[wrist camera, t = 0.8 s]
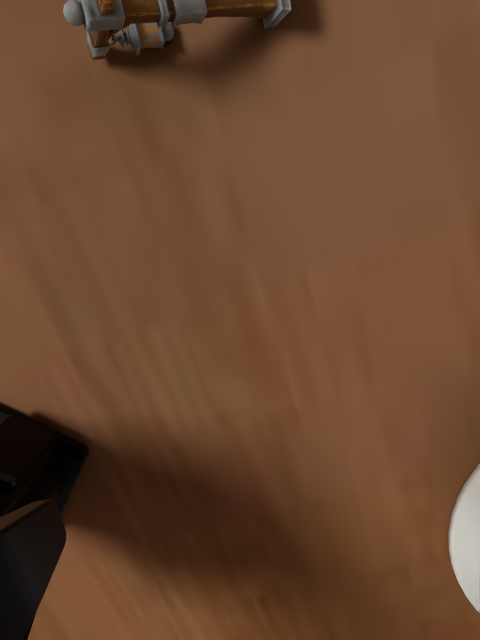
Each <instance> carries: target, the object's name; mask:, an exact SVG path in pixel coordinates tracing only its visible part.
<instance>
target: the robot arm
mask: <svg viewBox="0 0 480 640" xmlns="http://www.w3.org/2000/svg"><path fill="white" fill-rule="evenodd" d="M76 451H77V452H79V453H81V455H78V454H77V453H76ZM88 453H89V451H88V449H87V447H86V446H85V445H83V444H81V443H79V442H77V441H75V440H72V439H70V438H68V437H66V436H64V435H62V434H60V433H57V432H55V431H53V430H51V429H49V428H47V427H44V426H42V425H40V424H38V423H36V422H34V421H32V420H29V419H27V418H25V417H23V416H21V415H19V414H17V413H14V412H12V411H10V410H8V409H6V408H4V407H1V406H0V640H27V639H28V636H29V633H30V630H31V627H32V624H33V621H34V618H35V614H36V611H37V609H38V607H39V604H40V602H41V600H42V598H43V595H44V593H45V591H46V588H47V586H48V584H49V581H50V579H51V576H52V574H53V572H54V569H55V567H56V565H57V562H58V560H59V558H60V555H61V553H62V550H63V548H64V546H65V542H66V530H65V527H64V524H63V522H62V519H61V514H62V512H63V510H64V508H65V505H66V503H67V501H68V499H69V496H70V494H71V492H72V490H73V488H74V485H75V483H76V481H77V479H78V476H79V474H80V472H81V470H82V468H83V465H84V463H85V461H86V459H87V456H88Z"/></svg>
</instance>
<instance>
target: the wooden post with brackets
mask: <svg viewBox="0 0 480 640" xmlns="http://www.w3.org/2000/svg"><path fill="white" fill-rule="evenodd" d="M290 10H291V4H290V0H78V1H76V0H70V1H68V2H67V3H66V4H65V6H64V9H63V12H64V16H65V18H66V20H67V21H68V22H69V23H70V24H72V25H74V26H80V25H82V24H83V25H84V28H85V32H86V33H87V39H88V47H89V50H90V54H91V57H92V60H97V59H104V58H105V55H106V53H108V51H109V47H110V46H113V45H115V43H116V42H118V41H119V43H120V44H121V46H122V47H123V48H124V46H125V41H126V43H127V45H129V43H130V44H131V45H132V47H133V49H134V50H135V52H136V54H137V55H139V53H140V49H144V48H160V49H162V48H163V46H164V43H165V41H170V40H172V39H173V37H174V29H173V27H174V26H176V25H179V24H187V23H200V24H201V23H202V21H203V19H204V18H211V17H255V18H262V19H263V24H264V29H266V28H275V27H276V26H277V24H278V23H279V22H280V21H281V20H282V19H283V18H284V17H285V16H286V15H287V14H288V13H289V11H290ZM167 22H171V23H172V25H170V24H169V23H167ZM129 25H130V27H129V29H128V30H127V29H126V28H125V27H127V26H129ZM124 28H125V33H123V30H122V29H124ZM117 32H118V35H116V36H114V34H115V33H117ZM111 36H112V40H113V41H114V42H113V43H112V44H109V43H108V40H109V39H110V37H111ZM116 38H118V39H116Z"/></svg>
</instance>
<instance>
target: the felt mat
mask: <svg viewBox="0 0 480 640" xmlns="http://www.w3.org/2000/svg"><path fill="white" fill-rule="evenodd" d="M448 548H449V554H450V560H451V564H452V567H453V570H454V573H455V575H456V578H457V580H458V582H459V584H460V586H461V588H462V590H463V591H464V593H465V595H466V597H467V598H468V600H469V601H470V602H471V603H472V605H473V606H474V607H475V609H476V610H477V611H478V612H479V613H480V463H479V464H478V465H477V467H476V468H475V469H474V471H473V472H472V474H471V475H470V476H469V478H468V479H467V480H466V482H465V484H464V486H463V488H462V490H461V492H460V493H459V495H458V497H457V500H456V503H455V505H454V508H453V511H452V514H451V519H450V525H449V530H448Z"/></svg>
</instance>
